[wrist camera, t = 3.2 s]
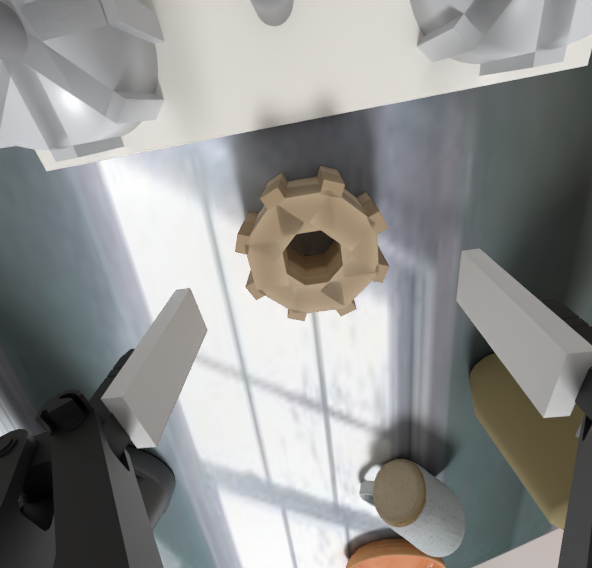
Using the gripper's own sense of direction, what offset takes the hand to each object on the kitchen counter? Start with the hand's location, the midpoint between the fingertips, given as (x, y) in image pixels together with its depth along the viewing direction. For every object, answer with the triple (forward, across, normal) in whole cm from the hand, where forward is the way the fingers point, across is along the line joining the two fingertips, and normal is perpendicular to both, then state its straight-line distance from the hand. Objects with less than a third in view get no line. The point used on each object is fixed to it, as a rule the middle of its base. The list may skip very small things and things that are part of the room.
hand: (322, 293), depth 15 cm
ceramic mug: (+9, -6, +35) cm, 36 cm away
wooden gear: (+9, 0, 0) cm, 9 cm away
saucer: (+9, -4, +59) cm, 60 cm away
